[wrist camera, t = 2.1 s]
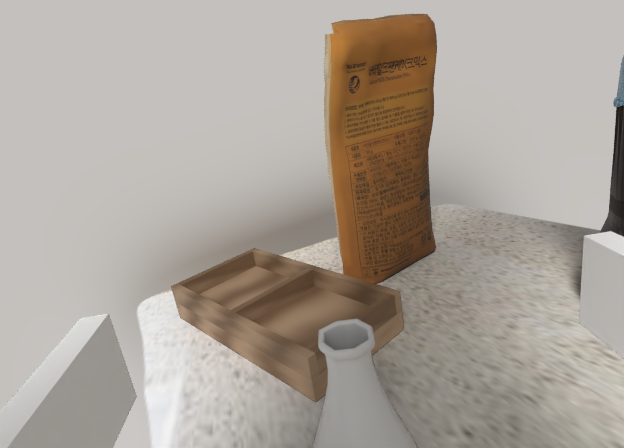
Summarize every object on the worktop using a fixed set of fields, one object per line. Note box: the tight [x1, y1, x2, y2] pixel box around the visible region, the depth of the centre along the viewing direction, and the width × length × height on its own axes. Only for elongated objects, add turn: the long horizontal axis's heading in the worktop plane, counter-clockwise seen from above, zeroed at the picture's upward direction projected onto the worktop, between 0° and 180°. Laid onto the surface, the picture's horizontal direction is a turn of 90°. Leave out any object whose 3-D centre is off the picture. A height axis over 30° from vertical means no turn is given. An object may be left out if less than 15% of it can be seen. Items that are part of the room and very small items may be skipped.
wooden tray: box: [171, 248, 404, 402], centre depth 44 cm, size 22×12×4 cm, turn 44°
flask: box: [313, 319, 418, 448], centre depth 25 cm, size 7×7×10 cm
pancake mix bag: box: [324, 14, 437, 284], centre depth 49 cm, size 7×19×28 cm, turn 129°
